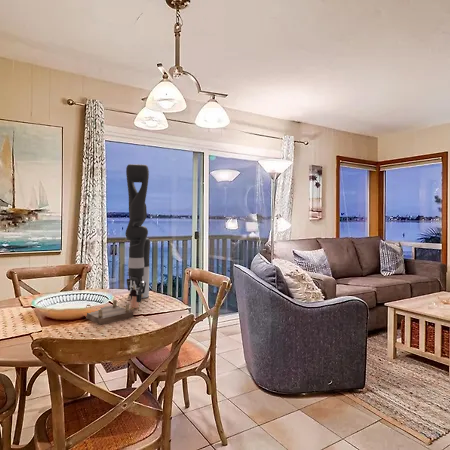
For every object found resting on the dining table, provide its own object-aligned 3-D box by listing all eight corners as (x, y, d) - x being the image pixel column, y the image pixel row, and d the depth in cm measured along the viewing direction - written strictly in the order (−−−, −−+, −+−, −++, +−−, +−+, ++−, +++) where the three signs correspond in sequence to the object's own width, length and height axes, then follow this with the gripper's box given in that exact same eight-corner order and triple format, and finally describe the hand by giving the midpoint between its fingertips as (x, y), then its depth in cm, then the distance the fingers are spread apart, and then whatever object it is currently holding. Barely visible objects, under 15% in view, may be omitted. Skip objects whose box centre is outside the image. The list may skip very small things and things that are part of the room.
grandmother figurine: (130, 310, 172) (130, 284, 171) (126, 308, 175) (127, 283, 174) (144, 308, 177) (145, 282, 176) (140, 306, 180) (141, 281, 179)
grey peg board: (82, 316, 160) (82, 304, 160) (114, 310, 172) (115, 298, 172) (99, 324, 149) (100, 311, 149) (133, 317, 161) (133, 305, 161)
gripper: (151, 267, 173) (150, 302, 173) (134, 264, 183) (134, 297, 183) (137, 268, 167) (137, 305, 168) (121, 265, 177) (121, 299, 178)
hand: (135, 300), depth 176 cm, fingers open, 4 cm apart
